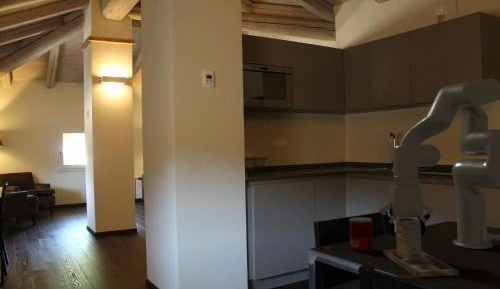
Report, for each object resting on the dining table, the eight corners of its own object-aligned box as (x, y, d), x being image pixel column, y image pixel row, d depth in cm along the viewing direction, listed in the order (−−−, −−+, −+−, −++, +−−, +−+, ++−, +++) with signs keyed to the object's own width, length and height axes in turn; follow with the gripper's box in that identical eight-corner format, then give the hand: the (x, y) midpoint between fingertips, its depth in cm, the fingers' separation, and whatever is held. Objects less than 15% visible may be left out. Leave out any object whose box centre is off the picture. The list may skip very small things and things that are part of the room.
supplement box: (396, 256, 133) (394, 217, 133) (409, 255, 133) (408, 216, 134) (407, 262, 125) (406, 221, 125) (422, 261, 125) (420, 220, 125)
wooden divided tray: (417, 253, 136) (417, 248, 136) (458, 275, 111) (458, 270, 111) (383, 254, 135) (383, 249, 135) (416, 277, 110) (416, 271, 110)
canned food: (374, 252, 139) (373, 220, 139) (350, 251, 140) (349, 220, 140) (372, 247, 146) (371, 217, 146) (349, 246, 148) (348, 217, 148)
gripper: (426, 181, 133) (427, 232, 133) (375, 181, 133) (376, 232, 132) (437, 182, 126) (438, 236, 125) (383, 183, 125) (384, 237, 125)
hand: (406, 234), depth 129 cm, fingers open, 9 cm apart
